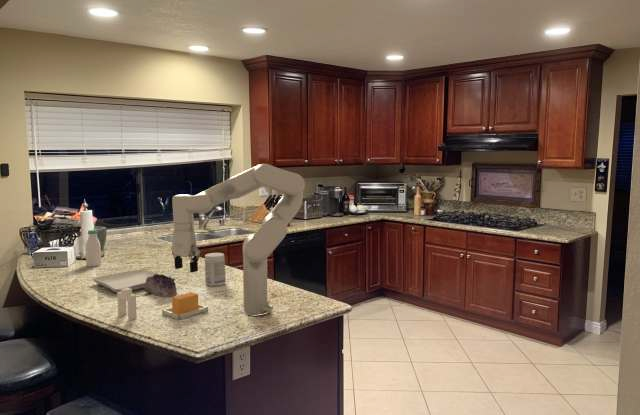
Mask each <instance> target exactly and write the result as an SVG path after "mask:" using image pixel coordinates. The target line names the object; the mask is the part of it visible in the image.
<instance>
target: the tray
mask: <svg viewBox="0 0 640 415" xmlns="http://www.w3.org/2000/svg"><path fill="white" fill-rule="evenodd" d="M208 312H209V307H208V306H206V305H203V304H200V303H198V309H197V310H194V311H190V312H187V313H183V314H180V315H179V314H176V313H173V312H172V306H170V307H168V308H164V309H161V313H162V315H163V316H166V317H167V318H171V319H174V320H177V321H181V320H184V319H188V318H191V317H195V316H198V315H202V314H204V313H208Z"/></svg>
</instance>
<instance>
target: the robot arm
mask: <svg viewBox="0 0 640 415" xmlns="http://www.w3.org/2000/svg"><path fill="white" fill-rule="evenodd" d="M305 185H306V184H305V180H304V178H303V176H302V175H300V174H299V173H296V172H292V171H288V170H286V169H283V168H279V167H276V166H274V165H271V164H268V163H261V164H257V165H256V166H253V167H251V168H249V169H247V170H245V171H243V172H242V171H241V173H238V174H236V175H234V176H232V177H229V178H228V179H226V180H225V181H223V182H220V183H218V184H216V185H214V186H211V187H209V188H208V189H207V188H206V190H203V191H201V192H199V193H197V194H195V195H191V194H176V195H173V196H172V200H171V201H172V202H171V204H172V215H173V217H172V218H173V230H172V240H171V241H172V245H171V247H170V249H171V253H172V255H173V260H174V269H175V270H179V269H182V268H183V258H188V259H189V272H190V273H196V272H198V271H199V265H198V263H199V259H200V256H201V255H200V254H201V250H200V249H199V248H198V246H197V245H198V244H197V237H196V231H195V221H194V220H195V218H194V214H203V215H204V214H207V213H209V212H211V211H212V209H213V208H214V207H216V206H219V205H221V204H223V203H225V202H228V201H231V200H236V199H240V198H242V197H245V196H246V195H249V194H251V193H253V192H255V191H257V190H259V189H261V188H264V187H265V188H268V189H269V190H274V191H277V192H280V193H282V195H281V198H280V199H279V200H278V202H277V203H276V205H274V207H273V208H272V209H271V210H270V212H268V214H267V215H266V216H265V217H264V218H263V219H262V221H261V224H260V228H259V229H258V230H257V231H256V233H251V234H250V235H247V236H246V237H245V238H244V240H243V242H242V259H243V260H242V264H243V265H242V266H243V267H242V269H243V271H242V272H243V273H242V274H243V277H242V278H243V281H242V282H243V284H242V286H243V288H242V289H243V306H241V307H240V308H239V312H240V313H242V314H245V315H258V314H264V313H267V312H268V313H269V314H271V312H272V310H274V307H273V305H270V301H268V257H269V256H271V254H272V253H273V252H274V251H275V249H276V248H277V247H278V246H279V245H280V243H281V242H282V241H283V240H284V238H285V237H286V235H287V233H288V225H289V223H290V222H291V221H292V220H293V219H294V218H295V216H296V215H297V213H298V211H299V210H300V209H301V207H302V204H303V199H304V190H305Z"/></svg>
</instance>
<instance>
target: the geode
mask: <svg viewBox="0 0 640 415" xmlns="http://www.w3.org/2000/svg"><path fill="white" fill-rule="evenodd" d="M158 274H159V273H157V274H155V275H153V276H152V277H148V278H147V279H146V282H145V288H144V292H146V293H149V294H150V295H154V296H156V297H161V298H172V297H174V296H177V295H178V293H177V291H178V290H177V287H176V282H175V280H176V277H174V278H172V277H171V276H168V275H164V274H160V275H158Z"/></svg>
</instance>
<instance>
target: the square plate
mask: <svg viewBox="0 0 640 415" xmlns="http://www.w3.org/2000/svg"><path fill="white" fill-rule="evenodd" d="M155 274H158V275H161V274H160V273H157V272H154V271H151V270H147V269H145V268H142V269H135V270H129V271H122V272H116V273H112V274H107V275H102V276H97V277H92V278H91V280H92V281H93V282H94V283H96V284H97V285H100V286H102V287H104V288H106V289H108V290H110V291H112V292H115V293H117V292H121V289H124V288H130V289H132V290H133V291H137V289H138V290H143V289H145V282H146V279H147V278H148V277H152V276H153V275H155ZM142 288H143V289H142Z"/></svg>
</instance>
